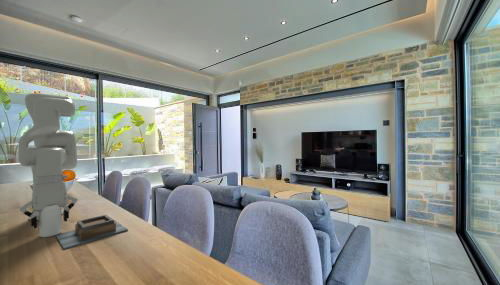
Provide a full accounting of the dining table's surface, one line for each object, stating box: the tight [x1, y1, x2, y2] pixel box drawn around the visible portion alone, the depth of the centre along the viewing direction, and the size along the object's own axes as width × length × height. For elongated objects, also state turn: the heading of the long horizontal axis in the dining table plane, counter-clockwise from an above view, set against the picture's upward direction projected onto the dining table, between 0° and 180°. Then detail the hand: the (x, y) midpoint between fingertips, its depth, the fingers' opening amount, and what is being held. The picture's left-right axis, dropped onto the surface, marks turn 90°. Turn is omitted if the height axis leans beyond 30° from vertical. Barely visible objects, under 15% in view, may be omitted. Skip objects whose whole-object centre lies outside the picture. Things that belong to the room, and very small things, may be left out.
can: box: [38, 204, 63, 238], centre depth 86 cm, size 6×6×12 cm
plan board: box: [55, 214, 129, 250], centre depth 87 cm, size 16×20×5 cm
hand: (50, 223), depth 86 cm, fingers open, 8 cm apart
